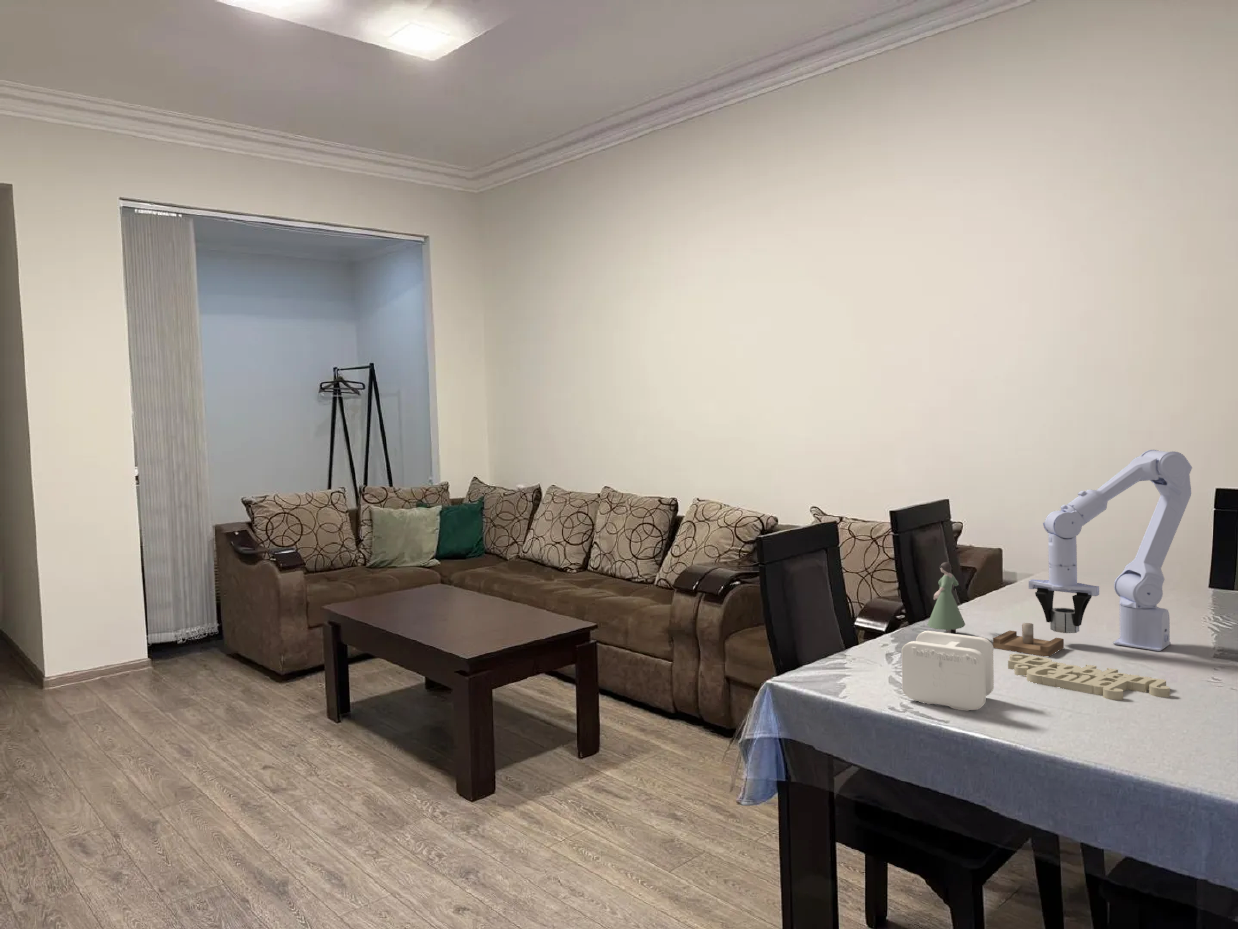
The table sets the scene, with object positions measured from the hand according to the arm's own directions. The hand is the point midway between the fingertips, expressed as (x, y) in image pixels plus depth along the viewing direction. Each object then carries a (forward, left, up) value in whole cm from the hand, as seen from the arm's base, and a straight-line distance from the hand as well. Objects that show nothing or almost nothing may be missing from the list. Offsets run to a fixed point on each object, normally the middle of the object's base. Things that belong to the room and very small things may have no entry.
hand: (1063, 623), depth 198 cm
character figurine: (+24, +7, -5) cm, 26 cm away
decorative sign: (-12, +25, -6) cm, 28 cm away
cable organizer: (+2, +51, -5) cm, 51 cm away
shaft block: (+5, +7, -5) cm, 10 cm away
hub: (0, -1, -2) cm, 2 cm away
